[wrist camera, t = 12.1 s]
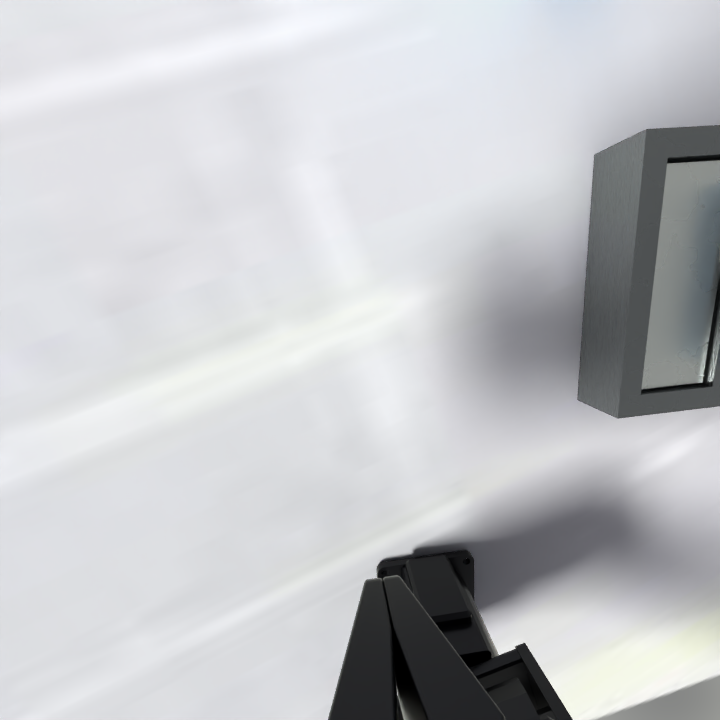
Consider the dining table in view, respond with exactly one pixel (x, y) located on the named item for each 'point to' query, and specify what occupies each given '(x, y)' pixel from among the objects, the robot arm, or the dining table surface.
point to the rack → (653, 275)
